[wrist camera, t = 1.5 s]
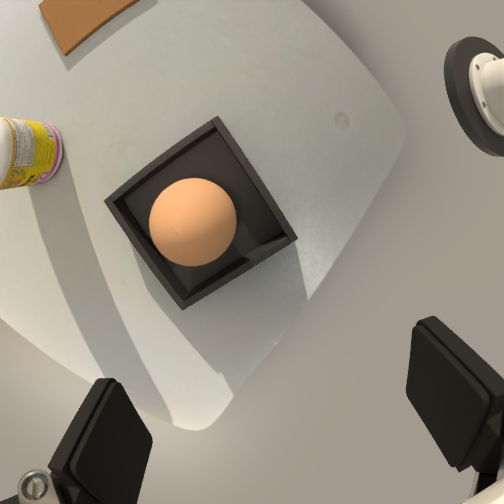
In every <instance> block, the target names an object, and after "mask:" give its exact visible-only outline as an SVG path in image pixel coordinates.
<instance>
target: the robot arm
mask: <svg viewBox="0 0 504 504" xmlns="http://www.w3.org/2000/svg"><path fill="white" fill-rule="evenodd" d="M469 81H470V87H471V92H472V95H473V98H474V101H475V104H476V106H477V108H478V110H479V112H480V114H481V116H482V118H483V119H484V121H485V122H486V124H487V125H488V126H489V127H490V128H491V129H492V130H493V131H494V132H495V133H497V134H498V135H500V136H503V137H504V58H503V59H499V58H497V57H496V56H494V55H492V54H490V53H481V54H479V55H476V56H475V57H474V58H473V59H472V61H471V63H470V68H469ZM406 394H407V397H408V399H409V400H410V402H411V404H412V405H413V406H414V408H415V410H416V411H417V413H418V414H419V416H420V418H421V419H422V421H423V422H424V424H425V426H426V427H427V429H428V430H429V432H430V434H431V435H432V437H433V439H434V440H435V442H436V443H437V445H438V447H439V448H440V450H441V452H442V453H443V455H444V457H445V458H446V460H447V462H448V464H450V466H451V467H456V468H457V470H458V472H461V471H463V470H464V469H466V468H468V467H470V466H471V465H472V466H473V468H474V469H475V471H476V472H475V477H474V480H473V485H472V488H471V491H470V495H469V499H468V500H466V501H464V502H462V503H461V504H504V379H503V378H502V377H501V376H500V375H499V374H498V373H497V372H496V371H495V370H494V369H493V368H492V367H491V366H490V365H489V364H487V362H485V361H484V360H483V359H482V358H481V357H480V356H479V355H478V354H477V353H476V352H475V351H474V350H473V349H471V348H470V347H469V346H468V345H467V344H466V343H465V342H464V341H463V340H462V339H461V338H459V337H458V336H457V335H456V334H455V333H454V332H453V331H452V330H450V329H449V328H448V327H447V326H446V325H445V324H444V323H443V322H441V321H440V320H439V319H438V318H437V317H435V316H430V317H428V318H425V319H422V320H419V321H418V322H417V324H416V326H415V327H414V328H413V329H412V339H411V351H410V361H409V369H408V378H407V384H406ZM152 443H153V441H152V436H151V434H150V433H149V431H148V429H147V428H146V426H145V424H144V423H143V421H142V419H141V418H140V416H139V415H138V413H137V411H136V409H135V408H134V406H133V404H132V402H131V401H130V399H129V397H128V395H127V393H126V392H125V390H124V388H123V386H122V385H121V383H119V382H117V381H116V380H115V379H114V378H99V379H97V380H96V381H95V383H94V385H93V386H92V388H91V389H90V391H89V393H88V395H87V396H86V398H85V400H84V401H83V403H82V405H81V406H80V408H79V410H78V412H77V413H76V415H75V417H74V419H73V420H72V422H71V424H70V426H69V427H68V429H67V431H66V433H65V435H64V436H63V438H62V440H61V442H60V444H59V446H58V447H57V449H56V452H55V453H54V455H53V457H52V459H51V461H50V463H49V464H48V468H49V469H50V470H51V471H52V472H51V474H48V473H47V472H46V471H44V470H41V469H35V470H31V471H29V472H27V473H26V474H25V475H23V476H22V478H21V479H20V481H19V483H18V495H15V496H13V497H11V498H8V499H5V500H3V501H1V502H0V504H137V500H138V497H139V493H140V489H141V485H142V481H143V477H144V473H145V470H146V466H147V462H148V459H149V454H150V451H151V448H152Z"/></svg>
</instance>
